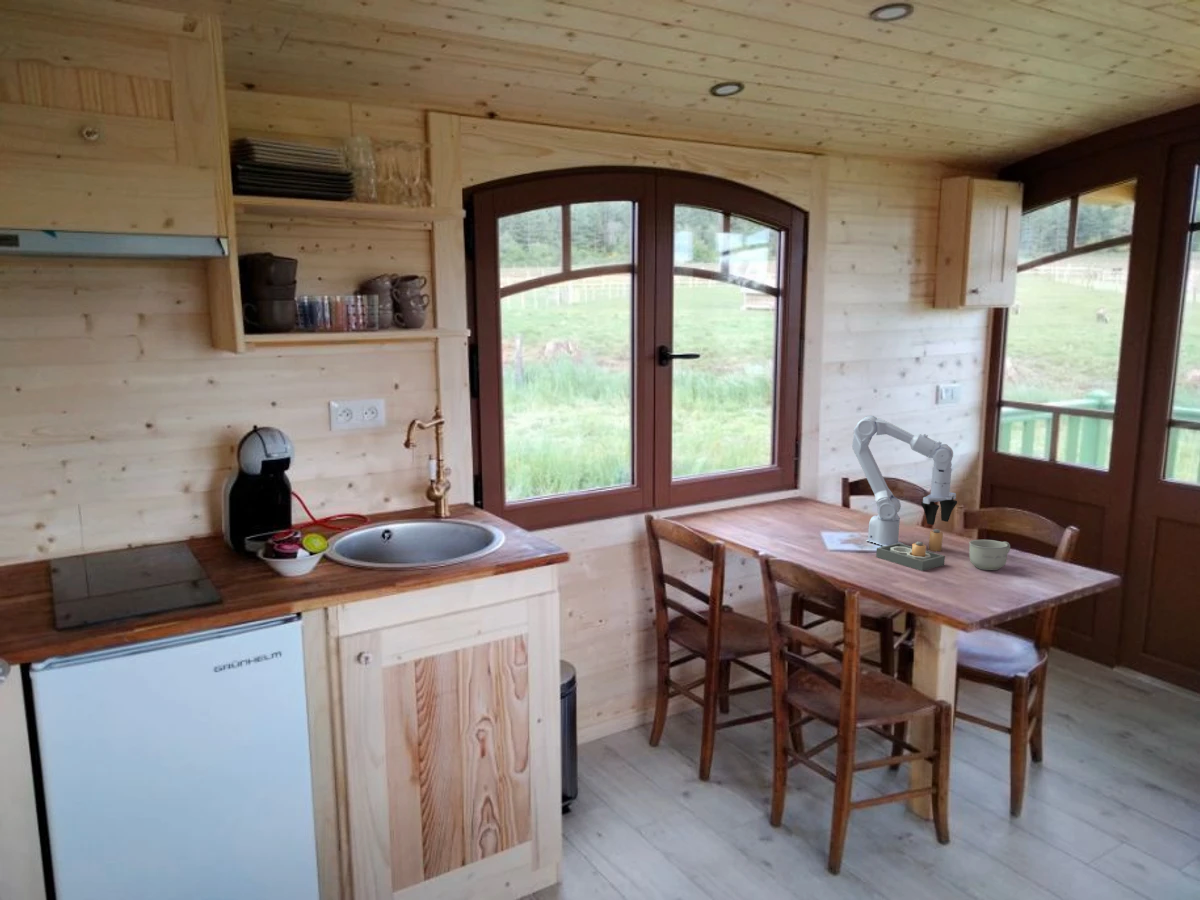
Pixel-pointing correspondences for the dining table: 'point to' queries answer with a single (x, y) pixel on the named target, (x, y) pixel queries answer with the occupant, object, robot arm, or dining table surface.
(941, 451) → the robot arm
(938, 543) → the orange battery
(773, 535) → the dining table surface
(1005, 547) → the teacup
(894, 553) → the housing
